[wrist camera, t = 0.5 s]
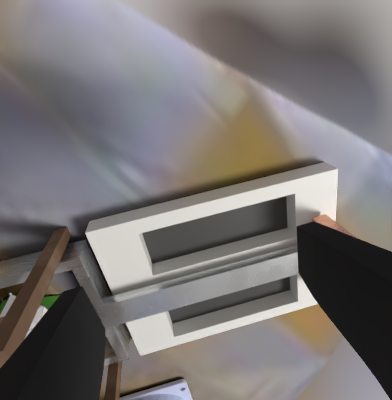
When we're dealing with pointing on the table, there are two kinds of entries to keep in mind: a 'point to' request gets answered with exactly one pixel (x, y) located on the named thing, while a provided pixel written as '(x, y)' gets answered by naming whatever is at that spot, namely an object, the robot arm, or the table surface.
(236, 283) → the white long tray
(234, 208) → the pit board
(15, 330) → the brown wooden stool
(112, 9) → the table surface
